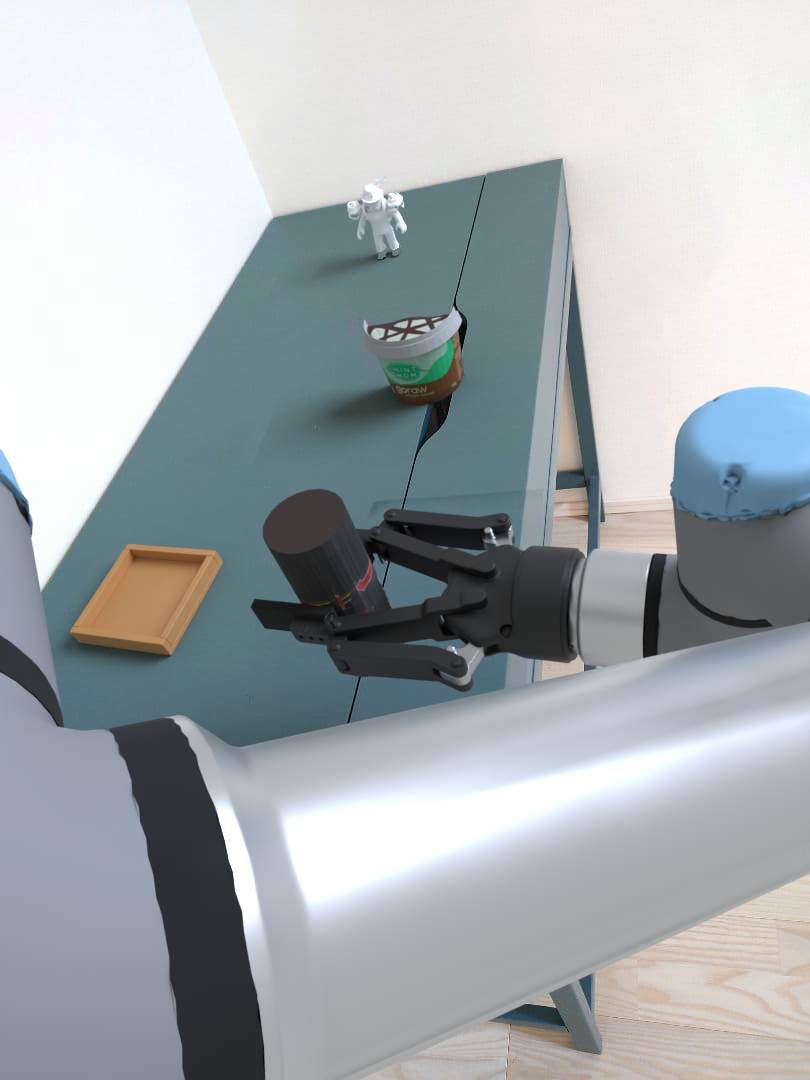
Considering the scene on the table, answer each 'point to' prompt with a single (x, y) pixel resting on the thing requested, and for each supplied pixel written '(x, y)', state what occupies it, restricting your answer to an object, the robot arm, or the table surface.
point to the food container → (419, 356)
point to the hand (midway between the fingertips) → (277, 578)
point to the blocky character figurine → (378, 214)
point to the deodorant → (323, 554)
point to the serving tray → (148, 598)
